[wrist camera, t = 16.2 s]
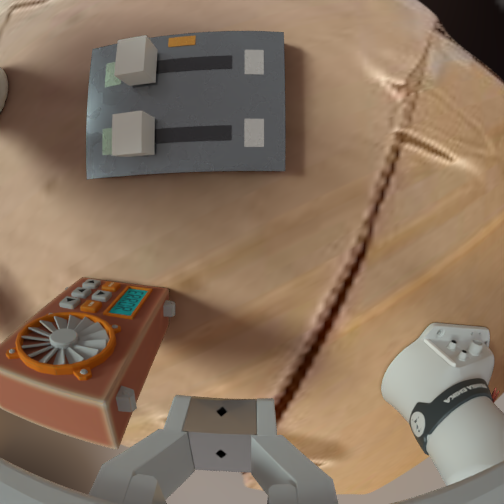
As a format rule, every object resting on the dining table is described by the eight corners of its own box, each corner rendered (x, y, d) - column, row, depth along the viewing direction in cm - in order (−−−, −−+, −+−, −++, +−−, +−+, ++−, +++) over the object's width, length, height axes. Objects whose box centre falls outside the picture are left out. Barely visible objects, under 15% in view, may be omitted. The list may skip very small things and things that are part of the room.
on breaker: (154, 117, 29) (142, 110, 25) (154, 154, 30) (141, 152, 26) (128, 120, 29) (112, 114, 25) (128, 156, 30) (111, 155, 26)
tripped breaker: (157, 50, 27) (146, 35, 23) (155, 82, 28) (143, 70, 24) (131, 53, 27) (117, 40, 23) (129, 85, 28) (114, 75, 24)
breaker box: (280, 42, 30) (283, 31, 27) (281, 171, 34) (285, 171, 31) (102, 56, 30) (92, 49, 27) (97, 178, 34) (86, 179, 31)
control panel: (73, 270, 37) (179, 283, 38) (78, 317, 38) (178, 332, 39) (-32, 349, 16) (121, 400, 17) (-7, 411, 18) (135, 461, 19)
